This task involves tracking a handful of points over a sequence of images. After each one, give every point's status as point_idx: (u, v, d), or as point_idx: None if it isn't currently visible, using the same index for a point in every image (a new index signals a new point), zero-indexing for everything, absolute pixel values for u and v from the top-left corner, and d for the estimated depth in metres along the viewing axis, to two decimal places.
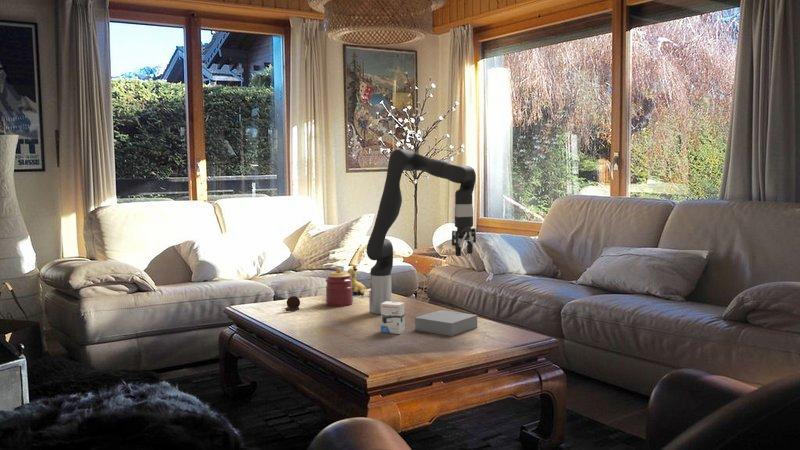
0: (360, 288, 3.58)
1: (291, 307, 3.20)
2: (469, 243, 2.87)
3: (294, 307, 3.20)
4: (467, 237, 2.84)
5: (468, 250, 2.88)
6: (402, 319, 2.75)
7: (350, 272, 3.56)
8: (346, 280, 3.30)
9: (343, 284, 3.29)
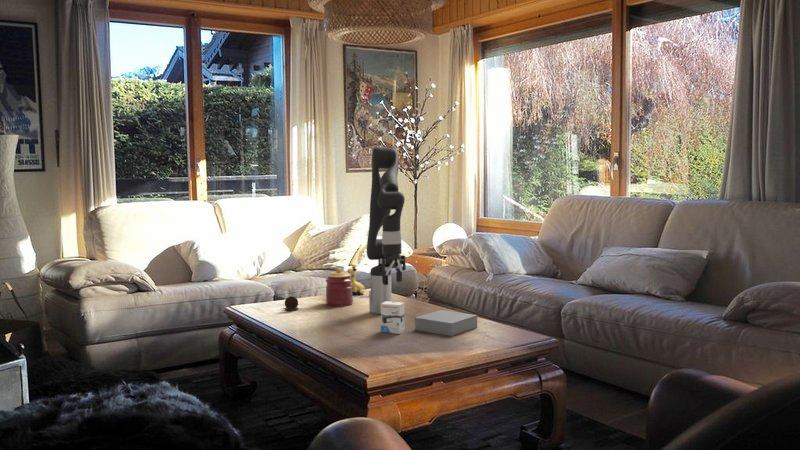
0: (359, 288, 3.58)
1: (289, 307, 3.19)
2: (398, 271, 2.78)
3: (292, 307, 3.19)
4: (395, 265, 2.75)
5: (397, 278, 2.79)
6: (402, 319, 2.75)
7: (349, 272, 3.55)
8: (346, 280, 3.30)
9: (343, 284, 3.29)
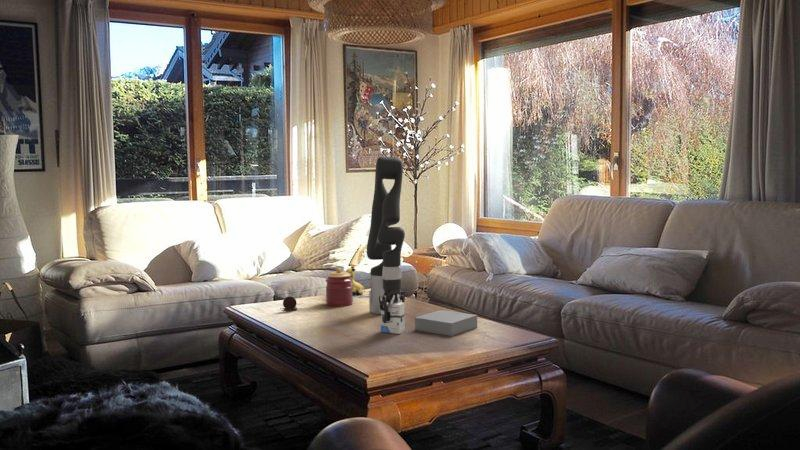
0: (358, 288, 3.57)
1: (287, 307, 3.19)
2: None
3: (290, 307, 3.19)
4: (395, 299, 2.76)
5: None
6: (402, 319, 2.75)
7: (348, 272, 3.55)
8: (346, 280, 3.30)
9: (343, 284, 3.29)
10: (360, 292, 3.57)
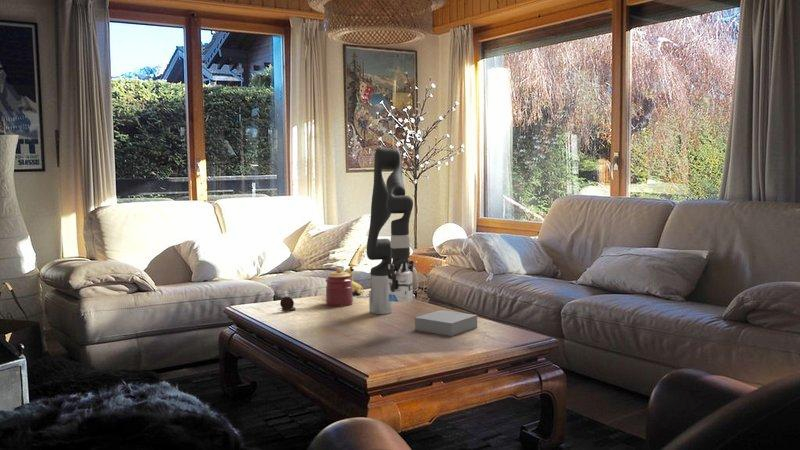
0: (357, 288, 3.57)
1: (284, 307, 3.19)
2: None
3: (287, 308, 3.19)
4: (403, 268, 2.75)
5: None
6: (410, 288, 2.75)
7: None
8: (346, 280, 3.30)
9: (343, 284, 3.29)
10: (359, 292, 3.57)
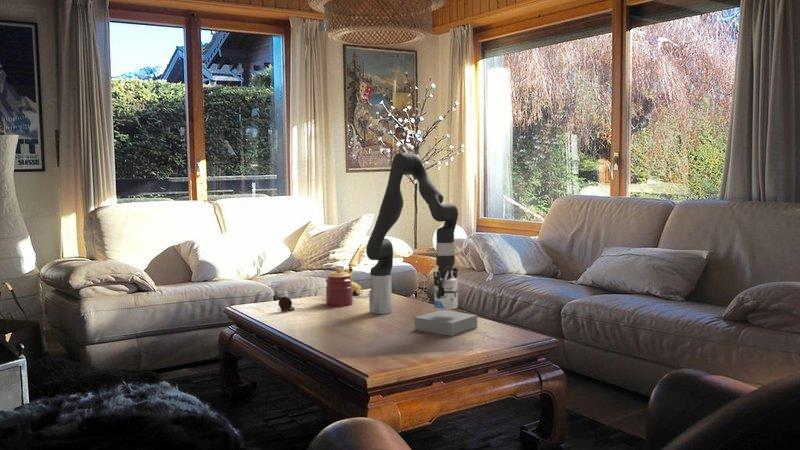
0: (356, 289, 3.57)
1: (283, 308, 3.19)
2: None
3: (285, 308, 3.18)
4: (448, 275, 2.80)
5: None
6: (456, 294, 2.79)
7: None
8: (346, 280, 3.30)
9: (343, 284, 3.29)
10: (357, 292, 3.57)
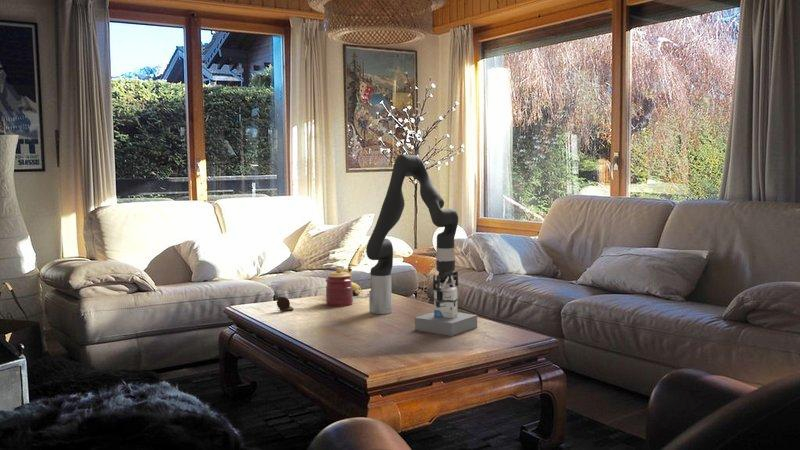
0: (355, 289, 3.57)
1: (281, 308, 3.19)
2: (451, 286, 2.83)
3: (283, 308, 3.18)
4: (449, 281, 2.80)
5: None
6: (455, 304, 2.79)
7: None
8: (346, 280, 3.30)
9: (343, 284, 3.29)
10: (357, 292, 3.56)
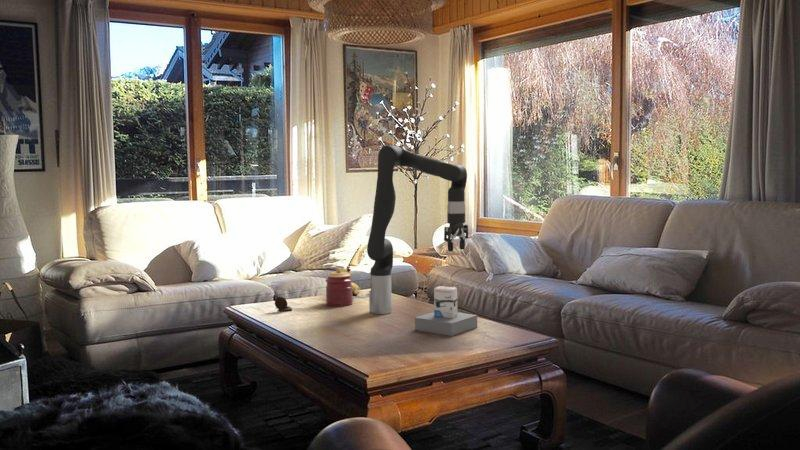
0: (354, 289, 3.56)
1: (278, 308, 3.19)
2: (461, 239, 2.98)
3: (281, 308, 3.18)
4: (459, 233, 2.95)
5: (460, 246, 2.98)
6: (455, 304, 2.79)
7: None
8: (346, 280, 3.30)
9: (343, 284, 3.29)
10: (355, 292, 3.56)
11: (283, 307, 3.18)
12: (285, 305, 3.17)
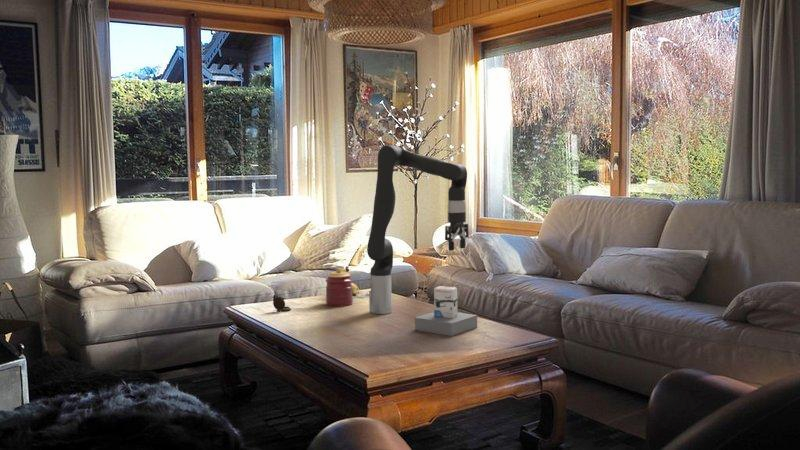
0: (352, 289, 3.56)
1: (276, 308, 3.19)
2: (462, 238, 2.99)
3: (279, 308, 3.18)
4: (460, 232, 2.95)
5: (461, 245, 2.99)
6: (455, 304, 2.79)
7: None
8: (346, 280, 3.30)
9: (343, 284, 3.29)
10: (354, 293, 3.56)
11: (281, 307, 3.18)
12: (283, 305, 3.17)
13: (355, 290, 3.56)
